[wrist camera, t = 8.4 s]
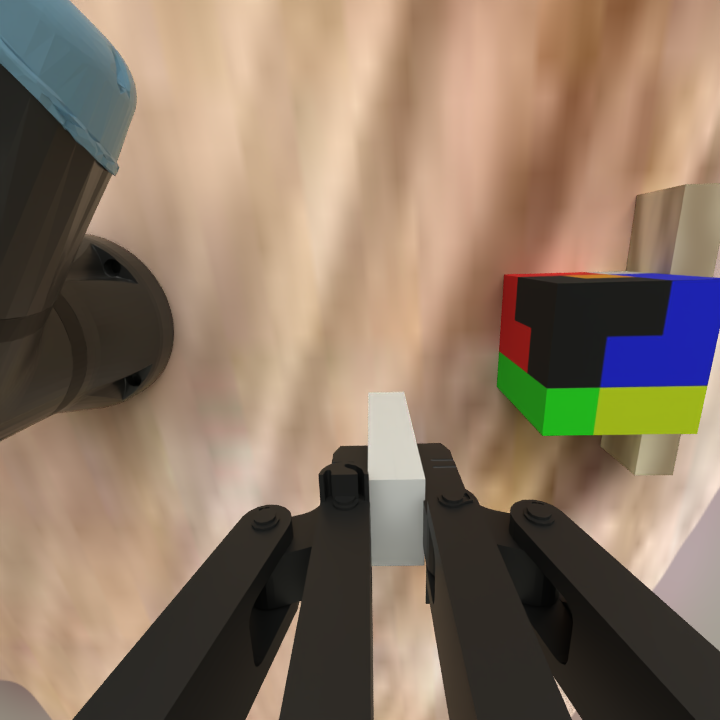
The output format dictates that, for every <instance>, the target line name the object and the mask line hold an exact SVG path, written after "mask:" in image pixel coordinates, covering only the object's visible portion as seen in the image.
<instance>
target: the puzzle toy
mask: <svg viewBox="0 0 720 720" xmlns="http://www.w3.org/2000/svg"><path fill="white" fill-rule="evenodd" d="M719 329H720V278H714V277H700V276H686V275H672V274H658V273H644V272H630V271H614V272H579V273H544V274H509V275H504V285H503V300H502V316H501V331H500V346H499V361H498V377H497V387H498V388H499V390H500V391H501V392H502V393H503V394H504V395H505V396H506V397H507V398H508V399H509V400H510V401H511V403H512V404H513V405H514V406H515V407H516V408H517V409H518V410H519V411H520V412H521V413H522V414H523V415H524V417H525V418H526V419H527V420H528V421H529V422H530V423H531V424H532V425H533V426H534V427H535V428H536V430H537V431H538V432H539V433H540V434H541V435H542V436H559V435H639V434H697V432H698V427H699V422H700V418H701V413H702V408H703V404H704V399H705V394H706V390H707V385H708V381H709V376H710V371H711V367H712V362H713V357H714V353H715V348H716V343H717V339H718V334H719Z"/></svg>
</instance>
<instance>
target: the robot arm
mask: <svg viewBox="0 0 720 720" xmlns="http://www.w3.org/2000/svg"><path fill="white" fill-rule="evenodd" d="M136 103H137V93H136V87H135V83H134V80H133V77H132V75H131V72H130V70H129V68H128V66H127V64H126V63H125V61H124V60H123V58H122V57H121V55H120V54H119V52H118V51H117V50H116V49H115V47H114V46H113V45H112V44H111V43H110V42H109V41H108V39H107V38H106V37H105V36H104V35H103V34H102V33H101V32H100V31H99V30H98V29H97V28H96V27H95V26H94V25H93V24H92V23H91V22H90V21H89V20H88V19H87V18H86V17H85V16H84V15H83V14H82V13H81V12H80V11H79V10H78V9H77V8H76V6H75V5H74V4H73V3H72V2H71V1H70V0H0V441H2V440H4V439H6V438H8V437H10V436H12V435H14V434H16V433H18V432H20V431H22V430H24V429H26V428H27V427H29V426H31V425H33V424H35V423H37V422H39V421H41V420H43V419H45V418H47V417H49V416H51V415H53V414H55V413H63V412H72V411H80V410H89V409H97V408H104V407H109V406H112V405H115V404H118V403H121V402H123V401H125V400H128V399H129V398H131V397H133V396H134V395H136V394H138V393H139V392H141V391H143V390H144V389H146V388H147V387H149V386H150V385H151V384H152V383H153V382H154V381H155V380H156V379H157V378H158V377H159V376H160V374H161V373H162V371H163V370H164V368H165V366H166V364H167V362H168V360H169V357H170V354H171V351H172V346H173V335H174V330H173V319H172V314H171V310H170V307H169V304H168V301H167V298H166V296H165V294H164V292H163V290H162V288H161V286H160V285H159V283H158V281H157V280H156V278H155V277H154V276H153V274H152V273H151V272H150V271H149V269H148V268H147V267H146V266H145V265H144V264H143V263H142V262H141V261H140V260H139V259H138V258H136V257H135V256H134V255H133V254H131V253H130V252H129V251H127V250H126V249H124V248H123V247H121V246H119V245H117V244H115V243H113V242H111V241H109V240H106V239H104V238H101V237H98V236H93V235H88V234H85V233H86V231H87V228H88V226H89V224H90V221H91V219H92V217H93V215H94V213H95V210H96V208H97V206H98V204H99V202H100V200H101V197H102V195H103V193H104V191H105V189H106V187H107V184H108V182H109V180H110V178H111V176H112V174H113V175H114V176H115V175H116V174H117V172H118V169H119V166H118V164H117V160H118V157H119V154H120V152H121V149H122V146H123V143H124V140H125V137H126V134H127V131H128V128H129V125H130V123H131V120H132V117H133V115H134V112H135V109H136ZM319 488H320V506H319V507H317V508H316V509H314V510H312V511H311V512H308V513H305V514H302V515H297V516H293V517H291V513H290V511H289V510H287V509H286V508H285V507H282V506H279V505H265V506H260V507H257V508H255V509H253V510H251V511H249V512H248V513H246V514H245V515H244V516H243V517H242V518H241V519H240V520H239V522H238V523H237V524H236V525H235V526H234V528H233V529H232V530H231V531H230V532H229V533H228V535H227V536H226V537H225V538H224V539H223V541H222V542H221V543H220V544H219V545H218V547H217V548H216V549H215V550H214V551H213V553H212V554H211V555H210V556H209V557H208V559H207V560H206V561H205V562H204V563H203V564H202V566H201V567H200V568H199V569H198V570H197V572H196V573H195V574H194V575H193V576H192V578H191V579H190V580H189V581H188V582H187V584H186V585H185V586H184V587H183V588H182V590H181V591H180V592H179V593H178V594H177V595H176V597H175V598H174V599H173V600H172V601H171V603H170V604H169V605H168V606H167V607H166V609H165V610H164V611H163V612H162V613H161V615H160V616H159V617H158V618H157V619H156V621H155V622H154V623H153V624H152V625H151V626H150V628H149V629H148V630H147V631H146V632H145V634H144V635H143V636H142V637H141V638H140V640H139V641H138V642H137V643H136V644H135V646H134V647H133V648H132V649H131V650H130V652H129V653H128V654H127V655H126V656H125V657H124V659H123V660H122V661H121V662H120V663H119V665H118V666H117V667H116V668H115V669H114V671H113V672H112V673H111V674H110V675H109V677H108V678H107V679H106V680H105V681H104V683H103V684H102V685H101V686H100V687H99V688H98V690H97V691H96V692H95V693H94V694H93V696H92V697H91V698H90V699H89V700H88V702H87V703H86V704H85V705H84V706H83V708H82V709H81V710H80V711H79V712H78V714H77V715H76V716H75V717H74V718H73V719H72V720H245V719H246V717H247V715H248V713H249V711H250V709H251V707H252V704H253V702H254V700H255V698H256V696H257V694H258V692H259V690H260V688H261V685H262V683H263V681H264V679H265V677H266V675H267V673H268V671H269V668H270V666H271V664H272V662H273V660H274V658H275V656H276V654H277V652H278V649H279V647H280V645H281V643H282V641H283V639H284V637H285V635H286V632H287V630H288V628H289V626H290V624H291V622H292V620H293V618H294V616H295V613H296V611H297V609H298V605H299V601H302V602H301V607H300V612H299V618H298V623H297V628H296V633H295V639H294V644H293V649H292V654H291V660H290V665H289V670H288V675H287V681H286V686H285V691H284V696H283V702H282V707H281V712H280V717H279V720H374V710H373V623H372V566H415V565H424V554H425V560H426V604H430V607H431V613H432V619H433V625H434V631H435V637H436V643H437V649H438V655H439V661H440V667H441V672H442V678H443V684H444V690H445V696H446V702H447V708H448V714H449V720H572V719H571V717H570V714H569V712H568V710H567V707H566V705H565V703H564V700H563V698H562V696H561V693H560V691H559V689H558V686H557V684H556V682H555V679H556V681H557V682H558V684H559V685H560V687H561V688H562V690H563V691H564V693H565V694H566V696H567V697H568V699H569V700H570V702H571V703H572V705H573V706H574V708H575V709H576V711H577V712H578V714H579V715H580V717H581V718H582V720H720V651H719V650H717V649H716V648H715V647H714V646H713V645H712V644H711V643H709V642H708V641H707V640H706V639H705V638H704V637H703V636H702V635H700V634H699V633H698V632H697V631H696V630H695V629H694V628H693V627H692V626H690V625H689V624H688V623H687V622H686V621H685V620H683V619H682V618H681V617H680V616H679V615H678V614H677V613H676V612H675V611H673V610H672V609H671V608H670V607H669V606H668V605H667V604H666V603H664V602H663V601H662V600H661V599H660V598H659V597H658V596H657V595H655V594H654V593H653V592H652V591H651V590H650V589H649V588H648V587H646V586H645V585H644V584H643V583H642V582H641V581H640V580H639V579H637V578H636V577H635V576H634V575H633V574H632V573H631V572H630V571H628V570H627V569H626V568H625V567H624V566H623V565H622V564H621V563H619V562H618V561H617V560H616V559H615V558H614V557H613V556H612V555H610V554H609V553H608V552H607V551H606V550H605V549H604V548H603V547H601V546H600V545H599V544H598V543H597V542H596V541H595V540H593V539H592V538H591V537H590V536H589V535H588V534H587V533H586V532H584V531H583V530H582V529H581V528H580V527H579V526H578V525H577V524H575V523H574V522H573V521H572V520H571V519H570V518H569V517H568V516H566V515H565V514H564V513H563V512H562V511H560V510H559V509H557V508H556V507H554V506H553V505H550V504H548V503H545V502H542V501H537V500H521V501H519V502H516V503H514V504H513V506H512V507H511V510H510V513H505V512H500V511H495V510H492V509H488V508H485V507H483V506H481V505H479V502H478V500H477V498H476V497H475V496H474V495H473V494H472V493H471V492H469V491H468V490H466V489H465V487H464V485H463V482H462V480H461V477H460V475H459V472H458V470H457V467H456V465H455V462H454V460H453V457H452V455H451V452H450V450H449V449H447V448H446V447H445V446H444V445H442V444H441V443H427V444H417V443H416V439H415V435H414V431H413V427H412V423H411V419H410V415H409V411H408V406H407V402H406V398H405V394H404V392H371V393H368V446H340V447H339V448H338V449H337V450H336V452H335V453H334V454H333V459H332V464H330V465H328V466H326V467H325V468H323V469H322V470H321V472H320V473H319ZM553 676H554V677H553ZM554 678H555V679H554Z"/></svg>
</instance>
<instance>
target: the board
mask: <svg viewBox="0 0 720 720" xmlns="http://www.w3.org/2000/svg"><path fill="white" fill-rule="evenodd" d="M719 244H720V183H715V184H687V185H681V186H677V187H672V188H668V189H663V190H659V191H654V192H650V193H645V194H641V195H637V200H636V206H635V213H634V220H633V227H632V234H631V241H630V248H629V254H628V261H627V268H626V271H630V272H644V273H658V274H672V275H686V276H700V277H713V274H714V269H715V264H716V259H717V254H718V249H719ZM680 436H681V434H639V435H602V440H601V447H602V448H603V449H604V450H605V451H607V452H608V453H609V454H610V455H611V456H612V457H614V458H615V459H616V460H617V461H618V462H620V463H621V464H622V465H623V466H624V467H625V468H627V469H628V470H629V471H630V472H631V473H632V474H634V475H673V471H674V466H675V461H676V456H677V451H678V446H679V441H680Z"/></svg>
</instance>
